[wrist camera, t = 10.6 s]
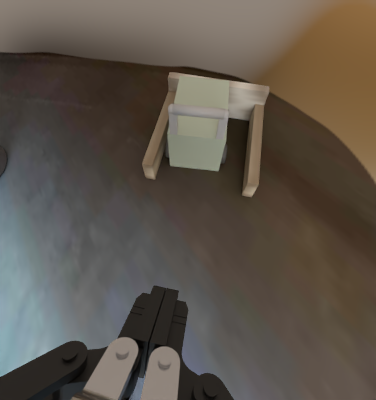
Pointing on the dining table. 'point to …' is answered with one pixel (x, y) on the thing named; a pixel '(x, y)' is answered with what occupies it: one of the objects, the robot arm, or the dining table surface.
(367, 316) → the dining table surface
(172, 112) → the sage trolley
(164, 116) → the birch bay
